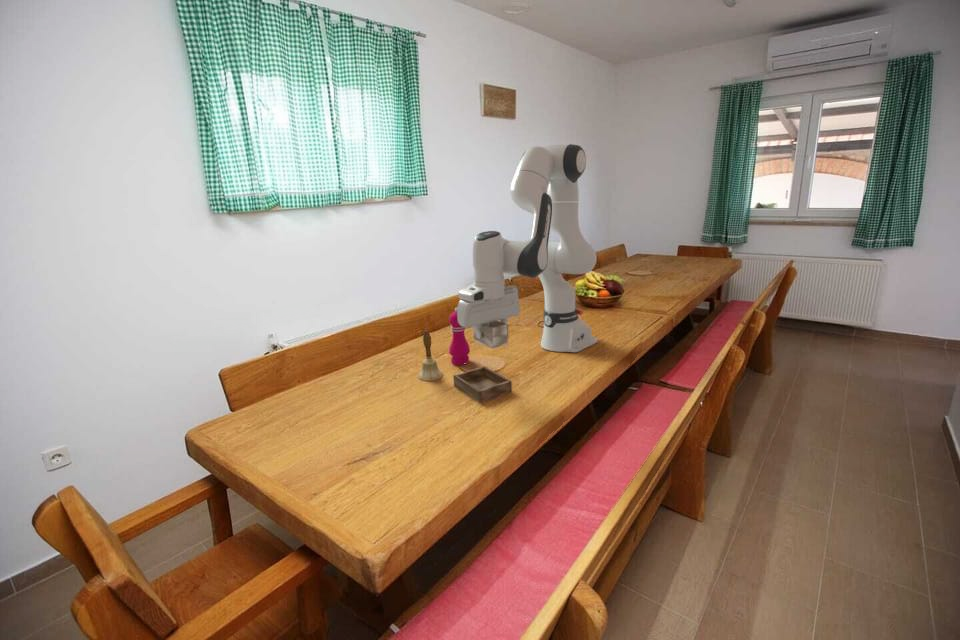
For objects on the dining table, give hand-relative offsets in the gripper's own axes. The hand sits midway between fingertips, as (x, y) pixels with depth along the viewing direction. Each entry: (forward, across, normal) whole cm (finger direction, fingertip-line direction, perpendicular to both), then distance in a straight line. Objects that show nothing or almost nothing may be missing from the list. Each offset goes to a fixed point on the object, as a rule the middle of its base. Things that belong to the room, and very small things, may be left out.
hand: (490, 335), depth 137 cm
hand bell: (+18, +9, -22) cm, 30 cm away
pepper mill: (+18, -5, -26) cm, 32 cm away
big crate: (+18, +2, -3) cm, 18 cm away
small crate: (+2, 0, 0) cm, 2 cm away
